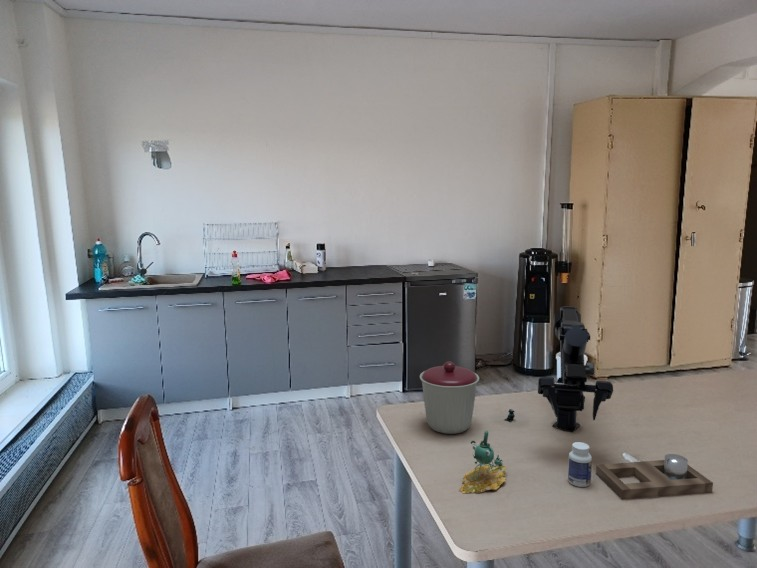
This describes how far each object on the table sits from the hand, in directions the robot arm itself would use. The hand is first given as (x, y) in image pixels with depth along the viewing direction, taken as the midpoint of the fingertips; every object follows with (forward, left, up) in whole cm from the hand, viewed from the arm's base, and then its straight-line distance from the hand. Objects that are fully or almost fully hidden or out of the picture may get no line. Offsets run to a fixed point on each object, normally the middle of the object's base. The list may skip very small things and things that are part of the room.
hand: (575, 418), depth 140 cm
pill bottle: (+7, +4, -14) cm, 16 cm away
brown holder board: (-4, +18, -13) cm, 23 cm away
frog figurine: (+21, -14, -14) cm, 29 cm away
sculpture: (-17, -27, -14) cm, 35 cm away
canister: (0, -39, -14) cm, 41 cm away
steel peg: (-8, +22, -13) cm, 27 cm away
